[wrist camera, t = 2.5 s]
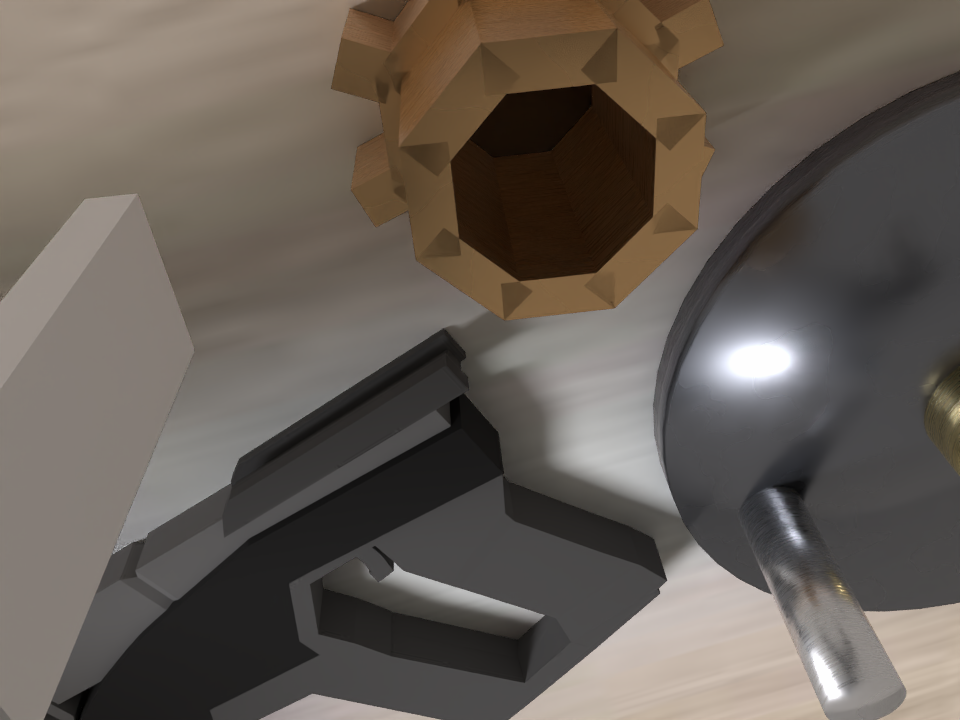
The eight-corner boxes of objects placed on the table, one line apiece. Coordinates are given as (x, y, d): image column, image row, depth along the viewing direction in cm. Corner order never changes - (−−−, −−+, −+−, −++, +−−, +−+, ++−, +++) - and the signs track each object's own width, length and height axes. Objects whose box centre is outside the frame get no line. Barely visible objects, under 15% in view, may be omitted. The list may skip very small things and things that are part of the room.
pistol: (712, 633, 28) (470, 352, 21) (183, 864, 35) (-144, 720, 28) (694, 582, 30) (465, 306, 22) (194, 811, 37) (-109, 661, 30)
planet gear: (376, 252, 21) (365, 395, 16) (314, -91, 16) (270, -37, 11) (676, 219, 21) (757, 351, 16) (697, -132, 16) (819, -97, 11)
